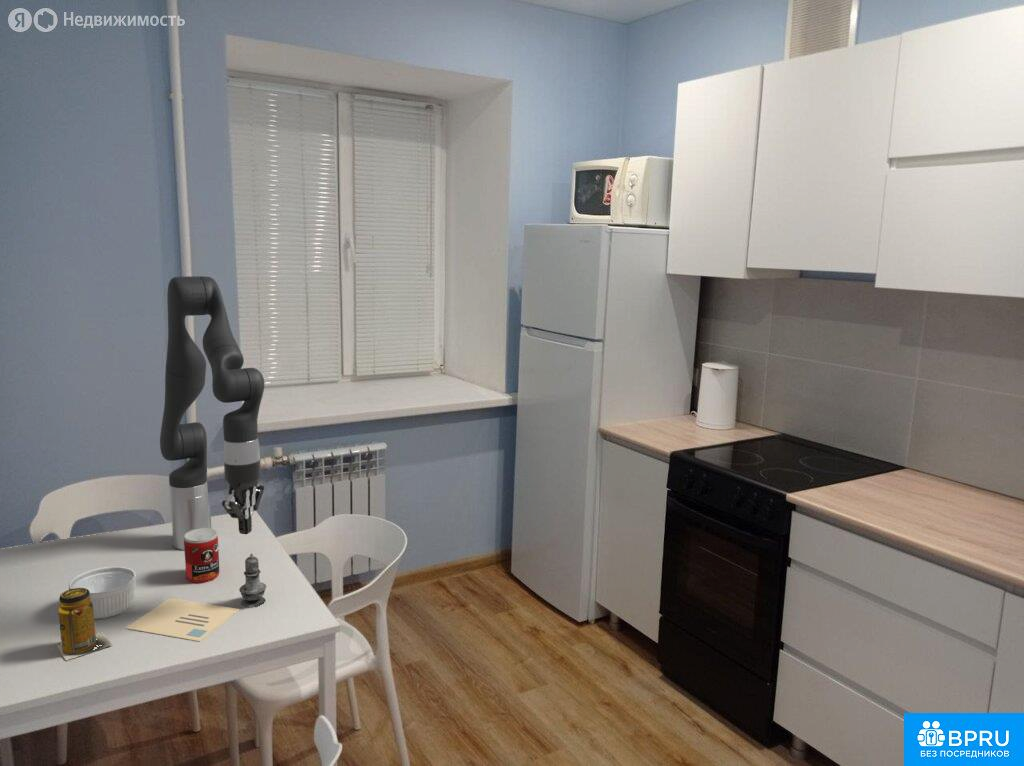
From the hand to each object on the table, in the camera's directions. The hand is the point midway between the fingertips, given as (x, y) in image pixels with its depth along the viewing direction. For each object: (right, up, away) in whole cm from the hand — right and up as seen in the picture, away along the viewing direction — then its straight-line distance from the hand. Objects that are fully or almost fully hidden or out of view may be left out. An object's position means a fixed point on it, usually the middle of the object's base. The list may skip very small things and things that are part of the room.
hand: (245, 532), depth 168 cm
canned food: (-16, -14, +16) cm, 27 cm away
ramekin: (-31, -17, 0) cm, 36 cm away
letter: (-12, -18, -4) cm, 22 cm away
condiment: (-27, -20, -16) cm, 37 cm away
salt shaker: (0, -17, +4) cm, 18 cm away
